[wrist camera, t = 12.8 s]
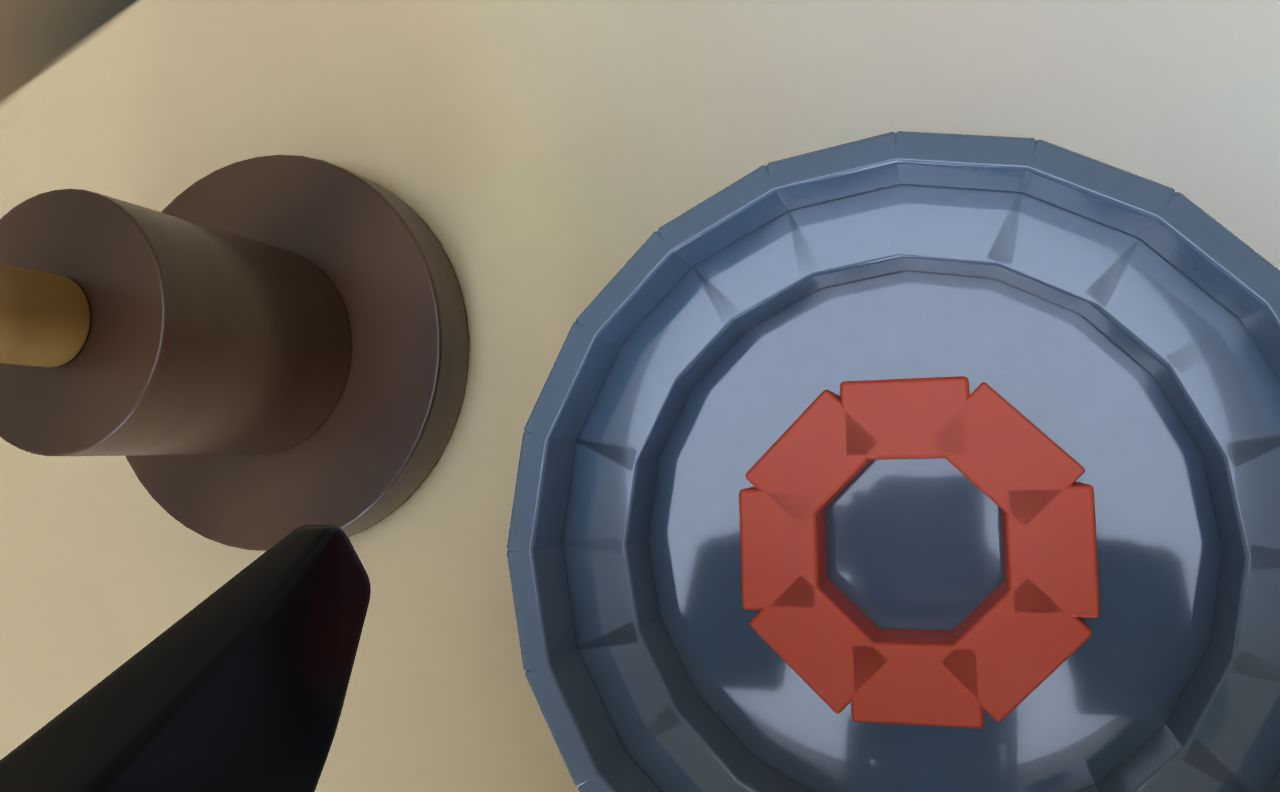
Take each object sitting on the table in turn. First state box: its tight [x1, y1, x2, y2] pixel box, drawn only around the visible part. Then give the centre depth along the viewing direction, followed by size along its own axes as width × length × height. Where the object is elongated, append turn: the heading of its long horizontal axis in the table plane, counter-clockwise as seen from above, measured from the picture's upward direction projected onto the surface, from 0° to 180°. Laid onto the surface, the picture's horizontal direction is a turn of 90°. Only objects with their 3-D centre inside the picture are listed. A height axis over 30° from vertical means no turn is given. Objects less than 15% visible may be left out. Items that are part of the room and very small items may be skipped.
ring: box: [739, 376, 1100, 729], centre depth 20 cm, size 7×7×2 cm
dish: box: [507, 131, 1280, 792], centre depth 20 cm, size 16×16×4 cm
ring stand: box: [0, 155, 468, 551], centre depth 21 cm, size 10×10×11 cm
